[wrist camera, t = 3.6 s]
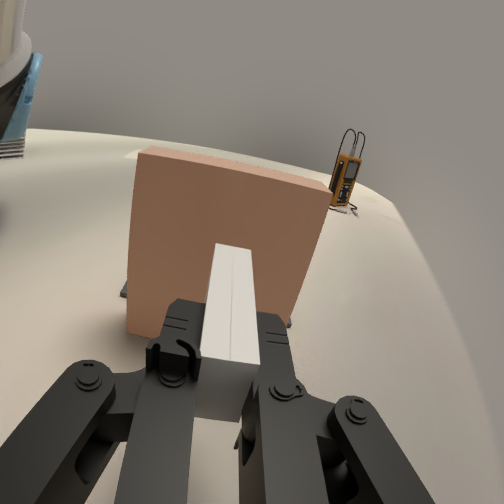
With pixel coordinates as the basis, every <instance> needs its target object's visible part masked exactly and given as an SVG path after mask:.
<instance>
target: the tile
mask: <svg viewBox="0 0 504 504" xmlns="http://www.w3.org/2000/svg"><path fill="white" fill-rule="evenodd" d="M332 196H333V193H332V192H331V191H330V190H329V189H328V188H327V187H326V186H325V185H324V184H323V183H322V182H320V181H316V180H312V179H308V178H304V177H300V176H297V175H293V174H289V173H284V172H280V171H276V170H272V169H268V168H263V167H259V166H255V165H250V164H245V163H241V162H236V161H231V160H227V159H222V158H217V157H212V156H206V155H201V154H196V153H190V152H185V151H179V150H173V149H167V148H161V147H154V146H151V147H149V148H147V149H145V150H143V151H141V152H139V153H138V158H137V166H136V173H135V181H134V190H133V199H132V209H131V221H130V233H129V249H128V269H127V333H130V334H134V335H138V336H143V337H147V338H152V339H155V338H157V337H159V336H160V333H161V329H162V326H163V323H164V319H165V317H166V313H167V310H168V306H169V305H170V304H171V303H172V302H174V301H175V300H176V299H177V298H179V299H184V300H189V301H195V302H200V303H205V298H206V292H207V287H208V281H209V276H210V271H211V265H212V260H213V255H214V250H215V245H216V243H217V244H223V245H228V246H233V247H238V248H244V249H249V250H251V257H252V269H253V282H254V294H255V307H256V311H259V312H265V313H271V314H278V315H279V317H280V318H281V319H282V321H283V322H284V323H285V325H286V327H287V324H288V321H289V319H290V316H291V313H292V311H293V308H294V306H295V303H296V300H297V297H298V295H299V292H300V289H301V287H302V284H303V281H304V278H305V276H306V273H307V270H308V267H309V264H310V262H311V259H312V256H313V253H314V250H315V247H316V244H317V241H318V239H319V236H320V233H321V230H322V227H323V224H324V221H325V218H326V215H327V212H328V209H329V205H330V202H331V199H332Z"/></svg>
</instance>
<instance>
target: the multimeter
mask: <svg viewBox="0 0 504 504" xmlns="http://www.w3.org/2000/svg"><path fill="white" fill-rule="evenodd" d="M348 130H352V129H348ZM348 130H347V131H346V133H347V132H348ZM352 131H353V132H354V133H355V131H354V130H352ZM346 133H345V135H346ZM359 133H362V132H358V135H359ZM362 134H363V133H362ZM345 135H344V137H345ZM363 135H364V134H363ZM344 137H343V140H344ZM357 137H358V136H357ZM343 140H342V142H341V146H342V143H343ZM357 140H358V138H357ZM355 141H356V134H355ZM355 141H354V144H355ZM364 143H365V136H364ZM354 144H353V147H352V150H351V152H350V155H349V156H348V155H345V154H340V155H339V152H340V149H341V146H340V149H339V152H338V156H339V159H338V156H337V160H338V162H337V160H336V164H337V165H336V164H335V167H334V171H335V172H334V171H333V174H332V178H331V181H330V185H329V190H330V191H331V192H332V193H333V196H332V199H331V202H330V204H331V205H333V206H336V205H344V206H346V205H347V204H348V203H349V198H350V196H351V193H352V190H353V187H354V184H355V181H356V177H357V174H358V171H359V168H360V165H361V159H360V158H359V159H358V158H356V157H354V154H355V149H356V146H355V147H354ZM356 144H357V141H356ZM363 147H364V144H363ZM363 147H362V150H363ZM353 149H354V150H353ZM362 150H361V152H362ZM360 156H361V153H360ZM349 204H350V203H349ZM350 205H352V204H350ZM352 206H354V205H352ZM354 207H355V208H351V210H352V209H357V207H356V206H354ZM329 209H331V208H329ZM331 210H336V209H331ZM336 211H338V212H343V213H349V212H347V211H343V210H338V209H337V210H336ZM352 211H353V213H354V214H355V215H356V216H358V214H357V213H356V212H355V211H354V210H352ZM353 213H350V214H353ZM358 217H359V216H358Z"/></svg>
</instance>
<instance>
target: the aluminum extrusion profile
mask: <svg viewBox="0 0 504 504" xmlns="http://www.w3.org/2000/svg"><path fill="white" fill-rule="evenodd" d="M25 134H26V132H25ZM25 134H24V135H23V136H22V137H21V138H20V139H18V140H13V141H5V142H2V143H0V160H7V159H18V158H24V149H25Z"/></svg>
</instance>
